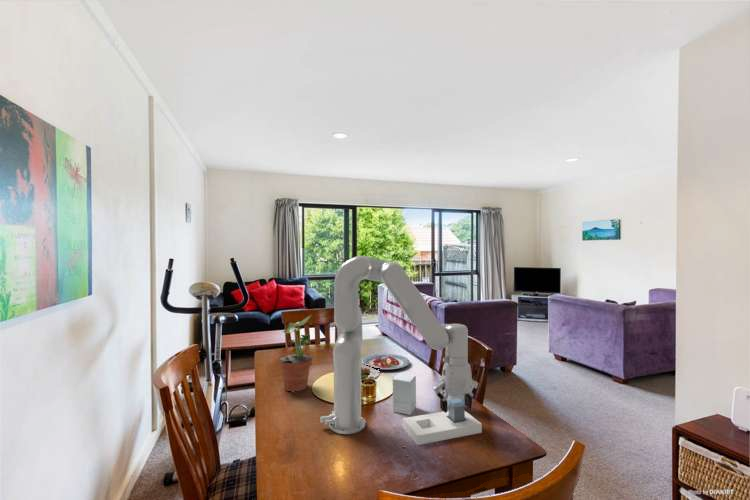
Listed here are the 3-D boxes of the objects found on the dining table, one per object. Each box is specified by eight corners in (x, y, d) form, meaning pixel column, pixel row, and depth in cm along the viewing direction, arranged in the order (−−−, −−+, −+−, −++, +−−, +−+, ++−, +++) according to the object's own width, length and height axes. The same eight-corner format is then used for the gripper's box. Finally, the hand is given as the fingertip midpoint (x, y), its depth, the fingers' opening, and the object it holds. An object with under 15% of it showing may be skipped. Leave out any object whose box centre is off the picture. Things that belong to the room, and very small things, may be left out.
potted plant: (315, 380, 163) (315, 307, 164) (309, 393, 148) (310, 312, 148) (281, 381, 163) (282, 307, 163) (273, 394, 148) (273, 312, 148)
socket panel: (417, 445, 109) (417, 435, 109) (402, 426, 120) (402, 418, 120) (481, 432, 117) (481, 423, 117) (461, 416, 128) (461, 408, 128)
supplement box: (416, 407, 135) (416, 375, 135) (410, 415, 129) (410, 381, 129) (399, 404, 138) (399, 372, 139) (392, 411, 132) (392, 378, 132)
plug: (454, 430, 118) (454, 404, 118) (448, 425, 122) (448, 399, 122) (464, 429, 119) (464, 402, 119) (458, 423, 123) (458, 398, 123)
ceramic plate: (359, 358, 198) (359, 353, 198) (402, 356, 203) (402, 351, 203) (366, 374, 173) (366, 368, 173) (415, 371, 177) (415, 365, 177)
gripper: (439, 365, 114) (439, 417, 114) (484, 360, 120) (483, 410, 120) (429, 359, 121) (429, 407, 121) (471, 354, 127) (471, 401, 127)
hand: (456, 408), depth 120 cm, fingers open, 9 cm apart
